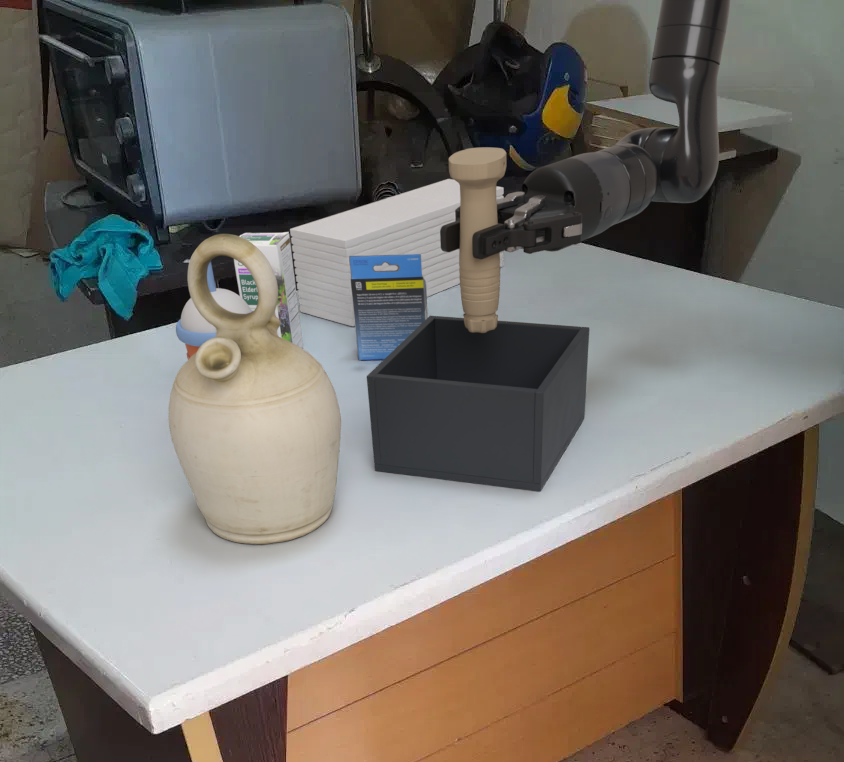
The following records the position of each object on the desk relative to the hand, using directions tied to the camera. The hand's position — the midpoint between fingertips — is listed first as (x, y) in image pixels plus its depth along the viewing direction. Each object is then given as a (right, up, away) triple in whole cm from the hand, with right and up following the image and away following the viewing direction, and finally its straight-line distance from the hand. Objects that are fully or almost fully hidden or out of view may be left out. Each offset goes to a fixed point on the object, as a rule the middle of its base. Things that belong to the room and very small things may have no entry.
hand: (459, 243), depth 92 cm
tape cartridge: (-7, +4, +36) cm, 37 cm away
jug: (-18, -24, +6) cm, 30 cm away
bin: (+3, -14, +15) cm, 20 cm away
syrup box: (-22, +3, +36) cm, 43 cm away
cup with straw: (-25, -8, +24) cm, 36 cm away
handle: (+2, -5, +7) cm, 9 cm away
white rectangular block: (-6, +21, +56) cm, 60 cm away
